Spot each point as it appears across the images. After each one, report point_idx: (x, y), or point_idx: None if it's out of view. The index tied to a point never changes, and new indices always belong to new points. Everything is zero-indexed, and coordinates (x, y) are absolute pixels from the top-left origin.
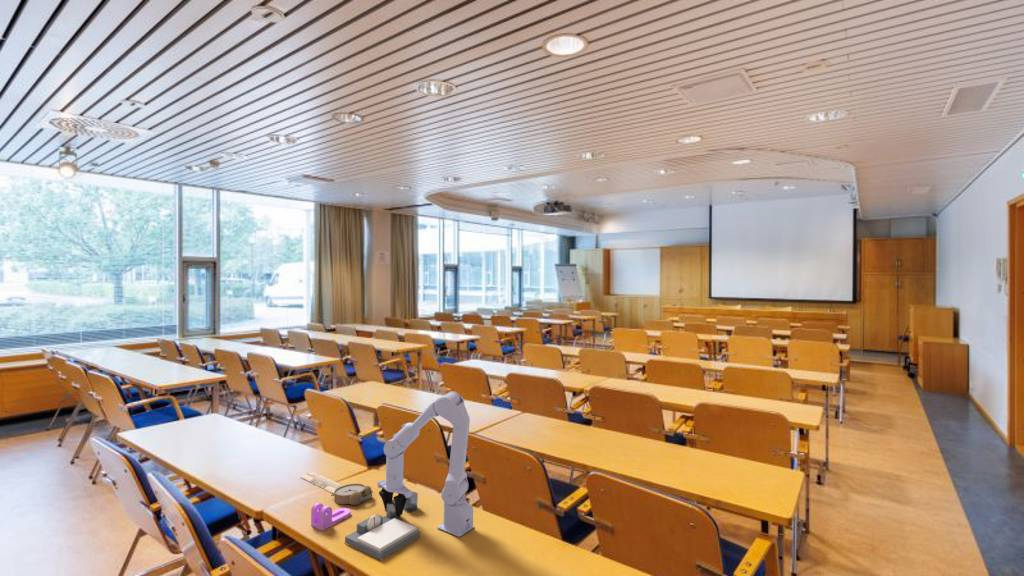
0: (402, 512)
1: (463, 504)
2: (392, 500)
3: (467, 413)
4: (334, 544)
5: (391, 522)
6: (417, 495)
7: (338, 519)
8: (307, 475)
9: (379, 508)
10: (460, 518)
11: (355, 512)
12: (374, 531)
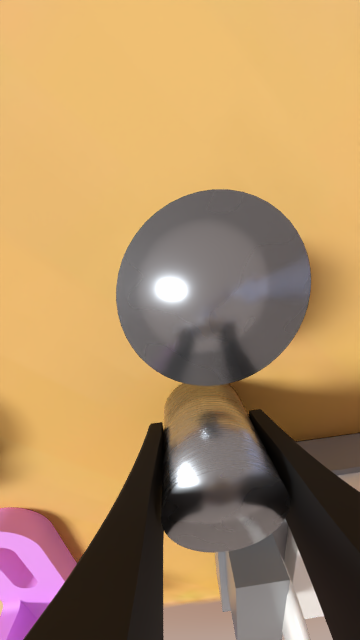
0: (267, 416)
1: None
2: (183, 507)
3: None
4: (198, 588)
5: None
6: (301, 244)
7: (63, 570)
8: None
9: (55, 406)
10: None
11: (23, 492)
12: (310, 584)
